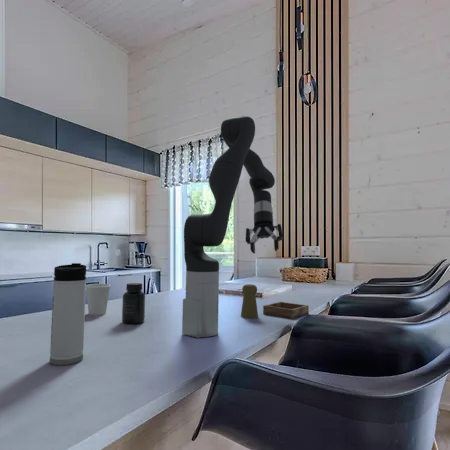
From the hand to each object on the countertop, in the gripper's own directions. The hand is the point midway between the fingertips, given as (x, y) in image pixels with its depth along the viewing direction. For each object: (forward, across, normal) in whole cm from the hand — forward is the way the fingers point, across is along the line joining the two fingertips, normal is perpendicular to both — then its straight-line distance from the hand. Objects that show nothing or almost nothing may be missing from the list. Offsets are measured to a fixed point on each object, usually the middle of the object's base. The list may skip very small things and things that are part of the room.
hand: (264, 251), depth 127 cm
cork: (+24, -6, 0) cm, 25 cm away
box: (+22, +5, +9) cm, 24 cm away
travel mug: (+45, -33, -53) cm, 77 cm away
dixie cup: (+24, -57, -16) cm, 64 cm away
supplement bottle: (+29, -39, -21) cm, 53 cm away
